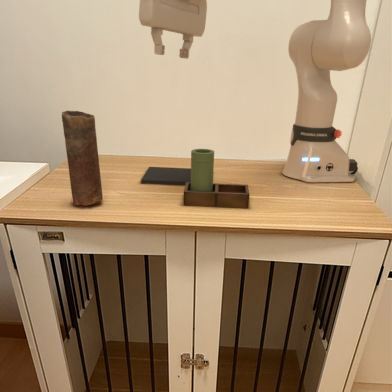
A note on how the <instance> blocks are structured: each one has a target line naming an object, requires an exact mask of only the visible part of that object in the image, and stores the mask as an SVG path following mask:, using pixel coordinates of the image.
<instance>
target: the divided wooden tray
mask: <svg viewBox="0 0 392 392" xmlns="http://www.w3.org/2000/svg"><path fill="white" fill-rule="evenodd" d="M249 204H250V189H249V184H240V183H239V184H238V183H236V184H235V183H219V182H218V183H217V182H215V183H214V182H213V188H212V192H206V191H191V182H186V185H184V189H183V206H186V207H187V206H188V207H206V208H207V207H208V208H210V207H211V208H229V209H230V208H232V209H249V206H250V205H249Z"/></svg>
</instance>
